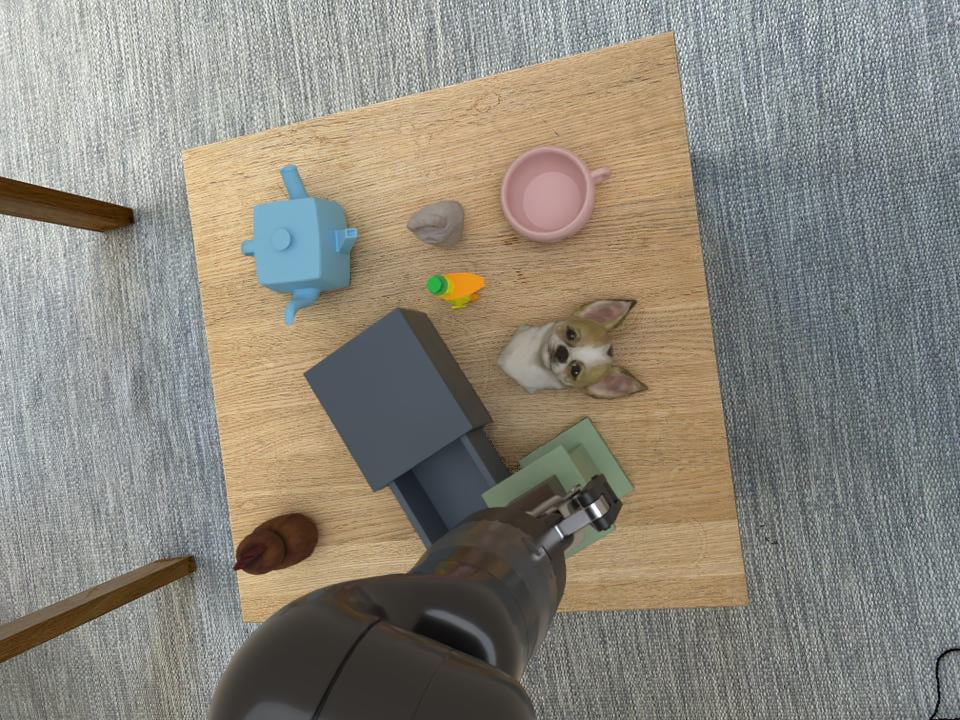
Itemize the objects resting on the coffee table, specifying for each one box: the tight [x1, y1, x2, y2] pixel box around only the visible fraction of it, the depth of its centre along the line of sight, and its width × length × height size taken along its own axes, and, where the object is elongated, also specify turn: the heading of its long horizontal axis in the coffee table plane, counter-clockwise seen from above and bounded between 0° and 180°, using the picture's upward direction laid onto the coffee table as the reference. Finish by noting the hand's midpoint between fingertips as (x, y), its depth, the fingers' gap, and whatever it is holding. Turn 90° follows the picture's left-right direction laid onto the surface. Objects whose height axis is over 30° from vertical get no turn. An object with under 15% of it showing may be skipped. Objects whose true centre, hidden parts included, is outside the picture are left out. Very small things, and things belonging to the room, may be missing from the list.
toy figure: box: [426, 272, 486, 310], centre depth 81 cm, size 7×4×12 cm, turn 98°
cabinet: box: [302, 306, 494, 493], centre depth 83 cm, size 15×13×10 cm
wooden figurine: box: [232, 512, 319, 576], centre depth 84 cm, size 7×6×15 cm
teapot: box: [240, 164, 359, 327], centre depth 86 cm, size 18×14×10 cm
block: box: [505, 475, 575, 519], centre depth 60 cm, size 4×4×4 cm
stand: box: [481, 416, 636, 561], centre depth 73 cm, size 9×9×22 cm
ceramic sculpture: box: [496, 298, 650, 401], centre depth 80 cm, size 11×9×15 cm
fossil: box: [406, 200, 466, 249], centre depth 82 cm, size 6×4×10 cm, turn 123°
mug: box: [499, 144, 613, 244], centre depth 81 cm, size 12×10×6 cm
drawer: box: [387, 427, 512, 550], centre depth 82 cm, size 18×11×8 cm, turn 33°
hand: (535, 527), depth 57 cm, fingers open, 8 cm apart
